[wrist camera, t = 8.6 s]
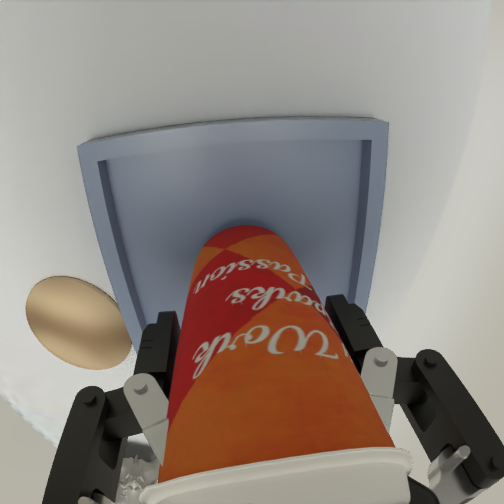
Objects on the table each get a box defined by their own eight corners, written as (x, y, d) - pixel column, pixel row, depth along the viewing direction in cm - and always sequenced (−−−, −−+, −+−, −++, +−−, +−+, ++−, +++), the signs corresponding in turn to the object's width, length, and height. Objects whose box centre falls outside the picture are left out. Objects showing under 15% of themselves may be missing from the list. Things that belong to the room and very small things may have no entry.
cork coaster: (11, 280, 19) (8, 283, 18) (112, 271, 19) (110, 276, 19) (55, 363, 23) (53, 367, 23) (145, 365, 24) (144, 369, 23)
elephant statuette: (164, 438, 31) (159, 495, 24) (183, 477, 36) (182, 523, 29) (92, 432, 30) (79, 484, 23) (122, 473, 35) (116, 516, 28)
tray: (89, 139, 15) (77, 146, 14) (373, 118, 16) (388, 122, 15) (146, 352, 23) (143, 369, 21) (350, 331, 24) (357, 347, 22)
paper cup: (336, 236, 17) (477, 471, 5) (274, 334, 21) (321, 548, 8) (202, 181, 15) (177, 510, 3) (157, 300, 18) (123, 546, 6)
